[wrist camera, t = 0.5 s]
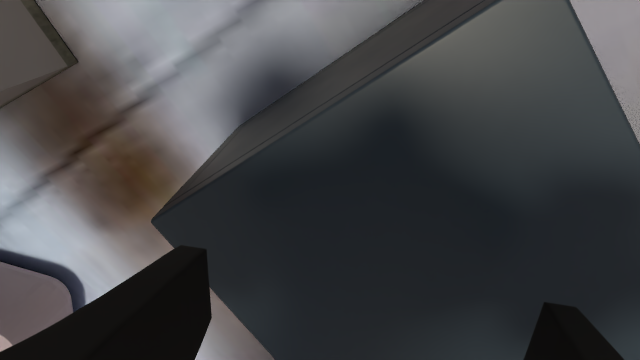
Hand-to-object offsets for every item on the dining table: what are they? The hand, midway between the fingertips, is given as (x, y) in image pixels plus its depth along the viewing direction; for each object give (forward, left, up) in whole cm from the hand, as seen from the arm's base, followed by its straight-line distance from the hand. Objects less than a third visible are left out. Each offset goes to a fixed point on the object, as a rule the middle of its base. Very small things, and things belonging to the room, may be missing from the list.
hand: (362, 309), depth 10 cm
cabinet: (-2, -3, -10) cm, 11 cm away
